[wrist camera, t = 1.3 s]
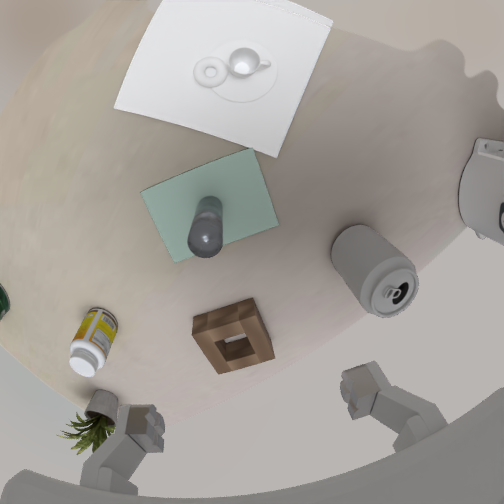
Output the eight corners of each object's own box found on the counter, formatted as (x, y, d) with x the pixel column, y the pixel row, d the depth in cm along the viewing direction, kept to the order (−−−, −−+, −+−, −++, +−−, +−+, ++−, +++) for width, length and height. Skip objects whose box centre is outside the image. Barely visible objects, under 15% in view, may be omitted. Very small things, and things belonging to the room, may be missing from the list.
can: (363, 275, 39) (403, 325, 28) (320, 266, 38) (354, 321, 27) (384, 230, 36) (434, 270, 25) (340, 216, 35) (387, 257, 24)
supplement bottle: (87, 327, 39) (65, 372, 29) (88, 302, 37) (62, 347, 27) (117, 338, 40) (100, 385, 31) (120, 313, 38) (100, 362, 29)
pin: (217, 191, 31) (214, 219, 22) (226, 215, 33) (228, 250, 24) (193, 201, 32) (181, 232, 23) (202, 223, 33) (195, 262, 24)
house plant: (95, 363, 42) (70, 435, 27) (151, 400, 48) (141, 470, 33) (68, 385, 45) (46, 444, 30) (117, 417, 50) (105, 475, 36)
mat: (252, 146, 30) (252, 147, 30) (278, 224, 34) (279, 225, 34) (141, 191, 31) (140, 192, 30) (174, 261, 35) (174, 263, 35)
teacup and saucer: (187, 88, 26) (182, 81, 22) (214, 29, 23) (213, 16, 20) (262, 112, 28) (267, 109, 24) (287, 54, 25) (296, 44, 22)
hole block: (252, 297, 39) (255, 315, 35) (271, 340, 42) (275, 358, 39) (193, 316, 39) (191, 335, 35) (218, 356, 43) (218, 374, 39)
